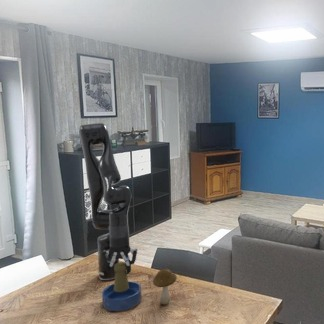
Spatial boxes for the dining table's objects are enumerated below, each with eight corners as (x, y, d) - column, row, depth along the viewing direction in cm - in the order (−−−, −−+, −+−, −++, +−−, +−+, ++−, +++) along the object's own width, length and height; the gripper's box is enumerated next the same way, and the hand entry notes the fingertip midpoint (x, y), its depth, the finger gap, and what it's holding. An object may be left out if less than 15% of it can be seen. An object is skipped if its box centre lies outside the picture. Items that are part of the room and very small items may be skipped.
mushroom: (180, 297, 146) (180, 264, 145) (170, 311, 135) (169, 276, 133) (160, 295, 148) (160, 262, 146) (149, 309, 137) (148, 274, 135)
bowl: (108, 294, 148) (108, 282, 148) (144, 292, 150) (143, 280, 150) (97, 313, 134) (97, 300, 133) (137, 311, 135) (137, 298, 135)
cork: (123, 292, 138) (122, 267, 136) (110, 291, 139) (109, 265, 137) (131, 285, 143) (131, 261, 142) (119, 284, 145) (118, 259, 143)
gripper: (139, 231, 143) (140, 269, 145) (103, 232, 141) (105, 270, 143) (135, 237, 135) (136, 277, 137) (98, 238, 134) (99, 278, 136)
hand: (120, 273), depth 140 cm, fingers closed on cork, 5 cm apart
